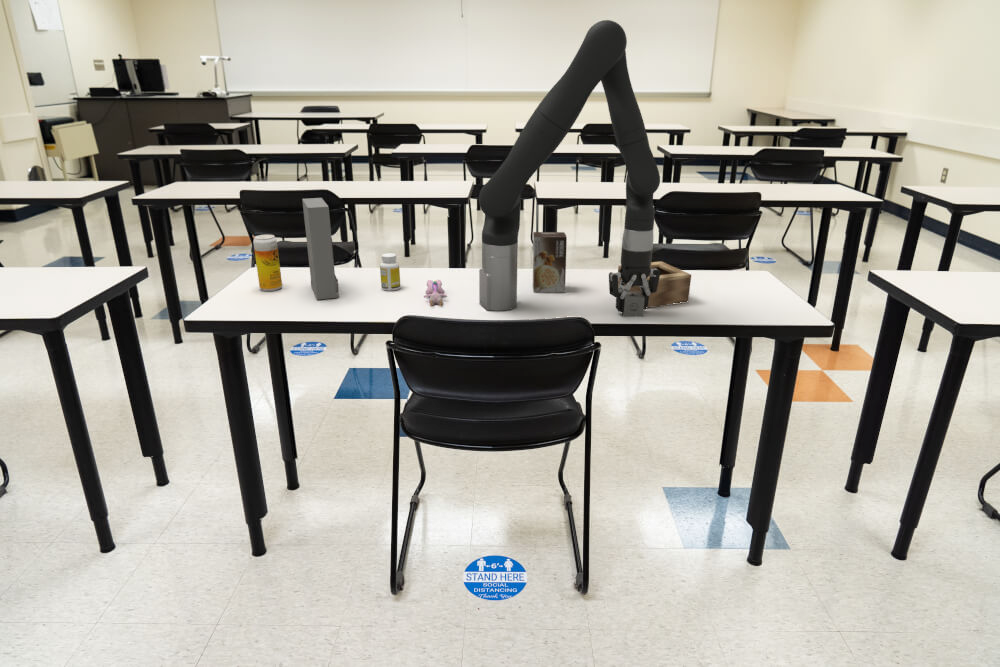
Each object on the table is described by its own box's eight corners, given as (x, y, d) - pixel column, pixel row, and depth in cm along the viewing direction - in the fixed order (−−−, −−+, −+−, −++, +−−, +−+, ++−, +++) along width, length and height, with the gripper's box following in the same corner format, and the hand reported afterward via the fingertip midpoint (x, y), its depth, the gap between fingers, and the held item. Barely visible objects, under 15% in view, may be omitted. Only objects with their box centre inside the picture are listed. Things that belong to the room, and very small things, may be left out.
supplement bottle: (402, 285, 187) (400, 252, 183) (398, 291, 182) (397, 257, 178) (383, 285, 187) (381, 252, 183) (379, 291, 182) (377, 257, 178)
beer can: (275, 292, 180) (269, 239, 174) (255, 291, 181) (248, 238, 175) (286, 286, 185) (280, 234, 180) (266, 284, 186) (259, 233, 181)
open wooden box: (643, 308, 170) (646, 280, 167) (616, 292, 182) (618, 265, 179) (688, 302, 175) (691, 274, 172) (658, 287, 187) (661, 261, 184)
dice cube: (623, 316, 164) (625, 297, 162) (619, 309, 169) (621, 291, 167) (643, 316, 164) (644, 297, 162) (638, 309, 169) (640, 291, 167)
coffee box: (563, 286, 187) (565, 231, 181) (565, 293, 181) (567, 237, 175) (531, 285, 187) (533, 231, 181) (532, 292, 181) (534, 236, 175)
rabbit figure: (448, 311, 171) (445, 285, 184) (447, 291, 168) (444, 266, 180) (424, 312, 170) (422, 286, 183) (423, 292, 167) (422, 267, 180)
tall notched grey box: (340, 298, 176) (331, 206, 166) (317, 300, 174) (307, 208, 164) (332, 283, 188) (324, 197, 178) (311, 286, 186) (301, 198, 176)
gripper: (619, 252, 154) (614, 318, 161) (670, 247, 159) (663, 311, 165) (604, 245, 161) (599, 308, 167) (653, 240, 166) (647, 302, 172)
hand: (631, 309), depth 166 cm, fingers closed on dice cube, 6 cm apart
